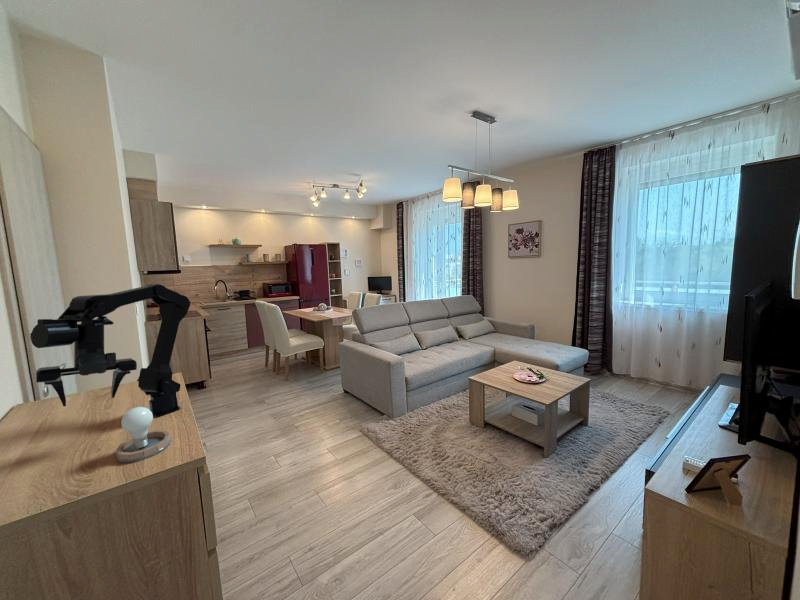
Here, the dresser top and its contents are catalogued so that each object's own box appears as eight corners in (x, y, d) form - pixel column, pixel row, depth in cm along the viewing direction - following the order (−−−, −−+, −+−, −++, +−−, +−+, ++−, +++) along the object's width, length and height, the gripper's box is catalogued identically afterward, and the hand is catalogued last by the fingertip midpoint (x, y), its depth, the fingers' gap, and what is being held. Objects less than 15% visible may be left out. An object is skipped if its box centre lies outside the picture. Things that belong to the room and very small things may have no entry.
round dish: (162, 432, 92) (161, 425, 92) (177, 445, 86) (176, 438, 85) (111, 452, 83) (110, 445, 83) (123, 468, 77) (122, 460, 76)
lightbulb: (137, 456, 80) (130, 415, 79) (120, 452, 82) (113, 412, 81) (163, 442, 86) (157, 403, 85) (146, 438, 88) (140, 401, 87)
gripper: (37, 349, 72) (37, 418, 72) (141, 341, 87) (141, 399, 87) (35, 345, 80) (35, 408, 79) (132, 338, 94) (132, 391, 94)
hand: (89, 401), depth 85 cm, fingers open, 9 cm apart
